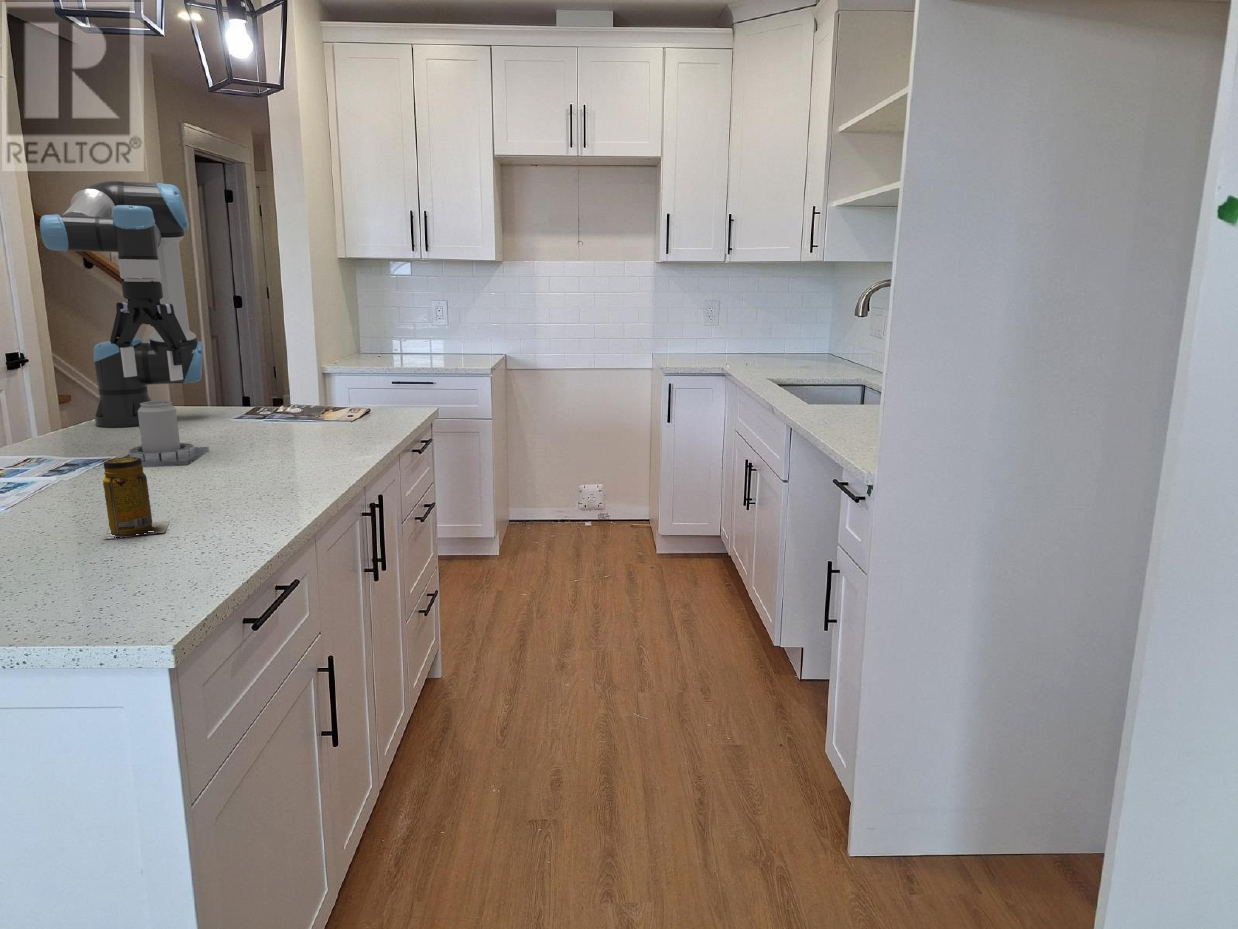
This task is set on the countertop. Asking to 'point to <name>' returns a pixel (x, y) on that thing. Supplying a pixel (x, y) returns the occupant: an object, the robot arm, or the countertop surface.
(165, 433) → the can
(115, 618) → the countertop surface
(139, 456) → the duct flange
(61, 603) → the countertop surface
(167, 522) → the condiment
